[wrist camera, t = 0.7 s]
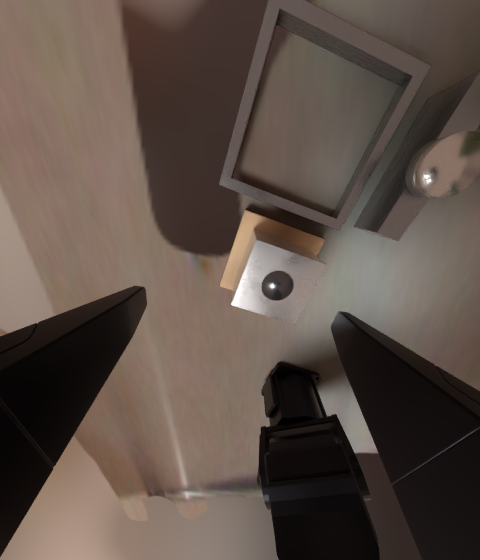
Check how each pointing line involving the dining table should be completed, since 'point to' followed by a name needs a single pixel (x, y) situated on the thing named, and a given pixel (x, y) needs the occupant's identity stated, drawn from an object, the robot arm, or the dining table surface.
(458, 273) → the dining table surface
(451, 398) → the robot arm
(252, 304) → the block with dome knob
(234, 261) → the stand
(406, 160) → the grey rectangular tray
